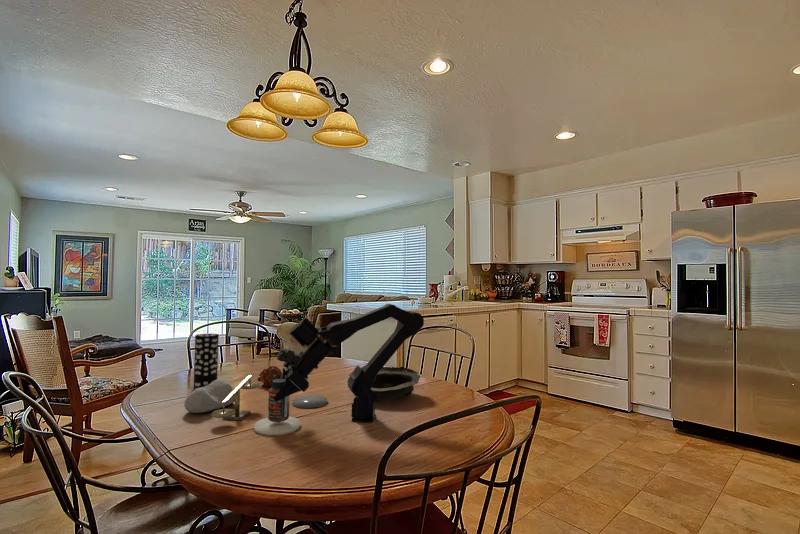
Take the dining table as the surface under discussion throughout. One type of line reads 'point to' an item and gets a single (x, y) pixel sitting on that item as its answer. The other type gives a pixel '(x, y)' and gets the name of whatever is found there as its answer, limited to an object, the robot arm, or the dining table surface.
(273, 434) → the cream dish
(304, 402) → the slate dish
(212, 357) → the white-spotted black cylinder
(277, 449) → the dining table surface
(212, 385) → the decorative stone
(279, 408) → the supplement bottle
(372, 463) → the dining table surface
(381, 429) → the dining table surface
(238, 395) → the balance
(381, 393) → the stone bowl
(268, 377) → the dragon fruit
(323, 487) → the dining table surface
